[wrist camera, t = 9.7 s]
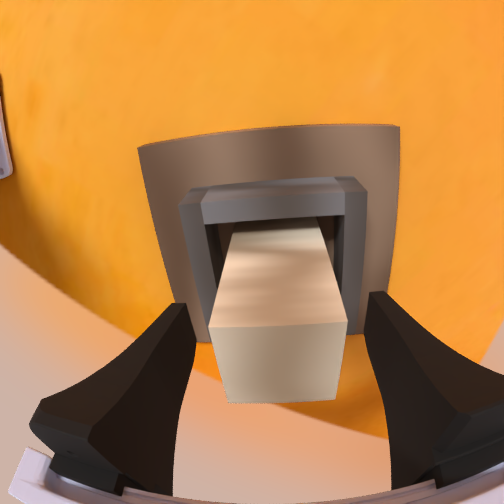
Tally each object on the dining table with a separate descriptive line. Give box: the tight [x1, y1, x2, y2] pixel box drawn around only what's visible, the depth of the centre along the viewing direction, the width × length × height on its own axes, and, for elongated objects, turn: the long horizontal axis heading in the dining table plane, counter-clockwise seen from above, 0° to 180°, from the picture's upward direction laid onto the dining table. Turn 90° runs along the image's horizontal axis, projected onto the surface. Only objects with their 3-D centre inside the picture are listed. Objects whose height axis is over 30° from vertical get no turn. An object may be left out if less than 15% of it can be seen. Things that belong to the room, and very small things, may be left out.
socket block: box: [138, 124, 400, 342], centre depth 16 cm, size 13×13×4 cm
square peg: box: [208, 216, 348, 403], centre depth 13 cm, size 4×4×8 cm
